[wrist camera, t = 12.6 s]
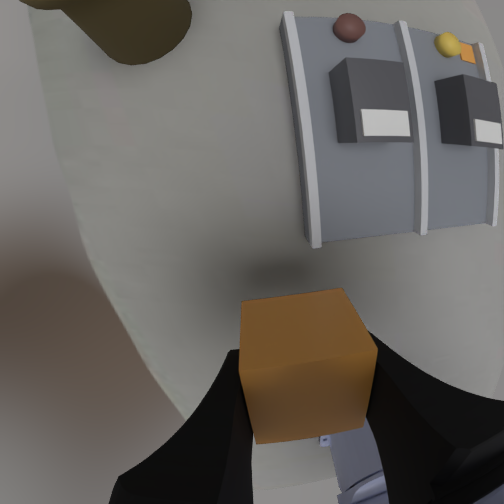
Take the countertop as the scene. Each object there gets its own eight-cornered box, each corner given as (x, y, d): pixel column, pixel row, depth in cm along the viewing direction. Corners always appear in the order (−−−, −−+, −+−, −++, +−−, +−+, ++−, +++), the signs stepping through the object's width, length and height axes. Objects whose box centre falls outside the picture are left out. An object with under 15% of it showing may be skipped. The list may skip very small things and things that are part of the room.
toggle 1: (387, 141, 14) (415, 142, 11) (337, 143, 14) (358, 142, 11) (378, 74, 13) (404, 61, 10) (328, 72, 13) (346, 56, 10)
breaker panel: (477, 217, 17) (498, 226, 15) (305, 236, 18) (313, 249, 15) (464, 49, 13) (484, 43, 10) (279, 27, 13) (283, 9, 11)
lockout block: (339, 362, 13) (363, 427, 9) (254, 374, 13) (256, 444, 9) (341, 287, 11) (378, 348, 8) (241, 301, 11) (238, 370, 8)
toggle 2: (473, 145, 14) (505, 149, 11) (441, 143, 14) (473, 146, 11) (467, 87, 13) (498, 83, 10) (434, 81, 13) (464, 73, 10)
